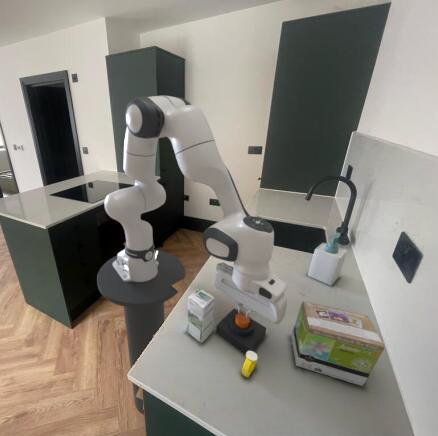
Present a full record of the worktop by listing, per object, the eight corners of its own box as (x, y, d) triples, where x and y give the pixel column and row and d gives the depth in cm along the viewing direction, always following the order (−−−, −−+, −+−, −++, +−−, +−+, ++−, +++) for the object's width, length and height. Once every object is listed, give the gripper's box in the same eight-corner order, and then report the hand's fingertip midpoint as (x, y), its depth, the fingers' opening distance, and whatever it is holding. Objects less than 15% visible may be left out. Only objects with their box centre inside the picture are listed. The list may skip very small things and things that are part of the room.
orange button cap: (232, 322, 69) (233, 317, 68) (239, 315, 72) (240, 310, 71) (244, 331, 66) (245, 325, 66) (251, 323, 69) (252, 318, 68)
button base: (215, 332, 72) (216, 320, 70) (233, 315, 78) (234, 303, 76) (248, 357, 64) (250, 344, 62) (265, 335, 70) (267, 323, 68)
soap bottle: (338, 277, 95) (353, 236, 87) (331, 286, 90) (345, 243, 82) (315, 267, 101) (327, 228, 94) (307, 275, 96) (318, 235, 89)
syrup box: (212, 332, 72) (215, 296, 66) (201, 344, 68) (203, 307, 62) (198, 322, 75) (199, 286, 70) (186, 333, 72) (187, 296, 66)
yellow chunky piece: (248, 383, 58) (251, 368, 55) (238, 375, 59) (240, 360, 57) (258, 366, 61) (262, 351, 59) (248, 359, 63) (251, 344, 61)
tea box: (295, 368, 61) (308, 327, 55) (290, 336, 70) (301, 299, 64) (364, 388, 56) (387, 346, 50) (350, 352, 65) (367, 312, 59)
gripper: (211, 264, 67) (208, 301, 73) (283, 300, 53) (273, 342, 59) (223, 256, 71) (220, 291, 76) (293, 287, 57) (283, 328, 63)
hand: (243, 314), depth 67 cm, fingers closed
